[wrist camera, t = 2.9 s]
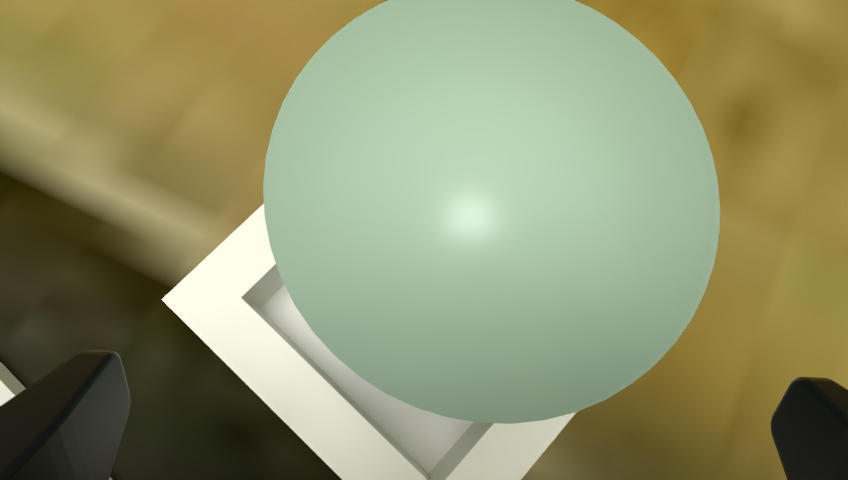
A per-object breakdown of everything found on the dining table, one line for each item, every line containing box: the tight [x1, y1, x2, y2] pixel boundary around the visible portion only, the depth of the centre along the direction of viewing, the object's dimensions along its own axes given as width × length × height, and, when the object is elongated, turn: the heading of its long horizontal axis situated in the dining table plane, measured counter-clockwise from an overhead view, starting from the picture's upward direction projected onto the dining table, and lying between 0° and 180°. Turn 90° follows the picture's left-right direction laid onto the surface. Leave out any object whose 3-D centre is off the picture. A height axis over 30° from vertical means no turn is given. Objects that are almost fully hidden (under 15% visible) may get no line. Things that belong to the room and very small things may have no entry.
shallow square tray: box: [162, 204, 576, 480], centre depth 16 cm, size 9×9×3 cm
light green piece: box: [263, 0, 720, 424], centre depth 12 cm, size 5×5×11 cm
